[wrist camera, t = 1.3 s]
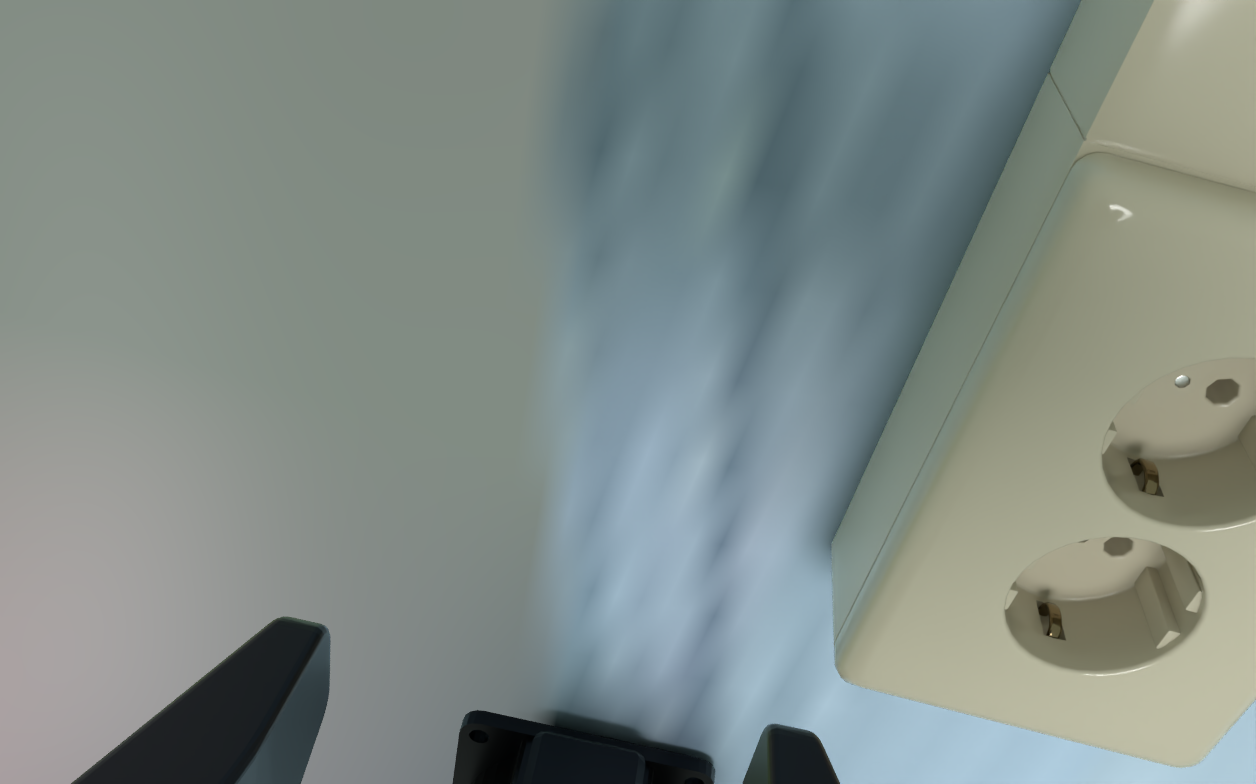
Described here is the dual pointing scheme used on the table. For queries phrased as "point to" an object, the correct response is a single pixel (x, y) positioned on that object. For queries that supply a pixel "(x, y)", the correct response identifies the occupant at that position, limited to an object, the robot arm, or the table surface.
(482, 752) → the robot arm
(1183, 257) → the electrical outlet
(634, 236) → the table surface
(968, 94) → the table surface
